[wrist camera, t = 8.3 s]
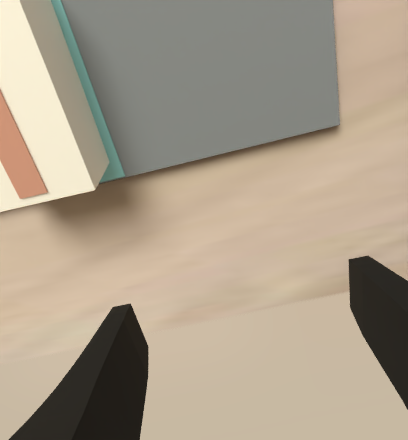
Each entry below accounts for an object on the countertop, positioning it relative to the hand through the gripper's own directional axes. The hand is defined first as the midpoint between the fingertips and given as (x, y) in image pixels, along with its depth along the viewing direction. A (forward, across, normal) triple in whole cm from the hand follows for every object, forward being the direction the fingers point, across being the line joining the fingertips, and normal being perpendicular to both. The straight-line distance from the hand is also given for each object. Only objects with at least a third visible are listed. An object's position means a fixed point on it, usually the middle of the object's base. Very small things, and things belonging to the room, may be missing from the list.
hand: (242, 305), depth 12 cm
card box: (+9, +8, -7) cm, 13 cm away
